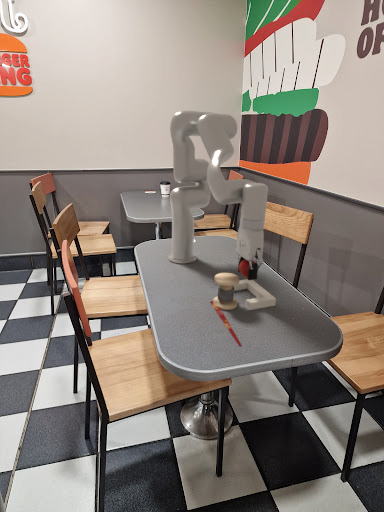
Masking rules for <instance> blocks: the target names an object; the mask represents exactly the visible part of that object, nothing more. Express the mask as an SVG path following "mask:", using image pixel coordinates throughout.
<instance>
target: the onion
mask: <svg viewBox="0 0 384 512" xmlns="http://www.w3.org/2000/svg"><path fill="white" fill-rule="evenodd" d="M255 263H256V262H255V261H253V264H255ZM249 268H250V263H249V261H247V260H246V259H244V260H242V262H241V263H240V265H239V271H240V272H239V273H240V274H241V275H242V276H243V278H245V279H248V270H249Z"/></svg>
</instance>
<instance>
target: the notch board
mask: <svg viewBox="0 0 384 512" xmlns="http://www.w3.org/2000/svg"><path fill="white" fill-rule="evenodd" d="M233 287H234V292H235V291H241V290H248V291H249V292H250V293H251V294H253V296H254V297H255V298H254V297H252V298H247V299H245V302H244V303H245V304H244V307H245V308H246V309H247V310H248V311H253V310H258V309H264V308H268V307H269V308H270V307H273V306H276V303H277V298H276V297H275V296H274V295H272V294H271V293H270V292H269V291H267V290H266V289H265V288H264V287H262V286H261V285H260V284H258V283H257V282H256V281H255V280H248V278H245V279H240V281H239V284H237V285H235V286H233Z"/></svg>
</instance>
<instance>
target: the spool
mask: <svg viewBox="0 0 384 512" xmlns="http://www.w3.org/2000/svg"><path fill="white" fill-rule="evenodd" d="M213 280H214V282H215V283H216V284H217V285H218V287H217V296H215V297H214V298H213V299H212V301H213V304H214V305H215V306H216V307H219V308H220V309H221V310H222V311H231V310H235V309H236V308H237V307H238V300H237V299H236V298H235V296H234V295H235V291H234V287H233V286H235V285H237V284H239V281H240V280H241V279H240V276H238V274H235V273H233V272H232V273H231V272H219V273H217V274H215V275H214V278H213Z"/></svg>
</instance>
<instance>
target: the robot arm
mask: <svg viewBox="0 0 384 512" xmlns="http://www.w3.org/2000/svg"><path fill="white" fill-rule="evenodd" d="M237 123H238V122H237V120H236V119H235V117H233V115H231V114H228V113H217V112H208V111H199V110H197V111H196V110H180V111H177V112H176V113H174V114H173V116H172V118H171V120H170V127H169V129H170V130H169V131H170V137H171V138H170V139H171V141H172V149H173V151H172V152H173V153H172V156H173V157H172V160H173V161H172V163H173V166H172V167H173V168H172V169H173V172H172V173H173V179H174V181H175V182H177V183H179V184H191V183H192V184H194V183H195V185H185V186H178V187H175V188H173V189H172V190H171V191H170V194H169V203H170V211H171V253H169V254H168V257H167V258H168V260H169V261H170V262H172V263H175V264H186V265H187V264H191V263H193V262H195V261H196V260H197V259H198V257H197V254H195V253H194V244H195V242H194V241H195V218H194V216H193V214H192V212H191V210H196V209H202V208H203V209H204V208H206V207H207V206H209V204H210V201H211V194H212V196H213V198H214V199H215V201H216V202H217V203H218V204H220V205H232V204H241V209H240V222H239V227H238V230H237V235H236V239H235V240H236V241H235V253H236V254H237V255H238V258H237V260H238V264H237V265H238V267H237V271H238V273H240V271H239V265H240V263H241V262H242V260H244V259H246V260H247V261H249V263H250V268H249V270H248V278H247V279H248V280H254V281H255V280H257V279H258V272H259V269H260V267H261V266H262V265H264V259H263V254H264V253H263V252H264V244H265V242H264V237H265V236H264V235H265V233H264V230H265V223H266V222H265V221H266V214H267V213H266V212H267V203H268V194H269V187H268V185H267V184H265V183H263V182H262V183H261V182H255V181H252V180H250V179H248V178H239V179H238V178H237V179H235V178H234V179H227V180H226V179H225V177H224V175H223V173H222V170H221V165H223V164H224V163H226V162H227V161H229V160H230V159H231V158H232V156H233V155H234V154H235V153H234V152H235V148H234V146H233V144H232V142H231V140H232V139H234V138H235V136H236V135H237V133H238V124H237ZM193 136H194V137H200V138H201V141H202V143H203V146H204V148H205V150H206V152H207V155H208V158H209V161H208V160H207V159H204V158H196V155H195V154H196V152H195V151H196V148H195V144H194V142H193V140H192V138H191V137H193ZM253 261H254V262H255V264H253Z"/></svg>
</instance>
